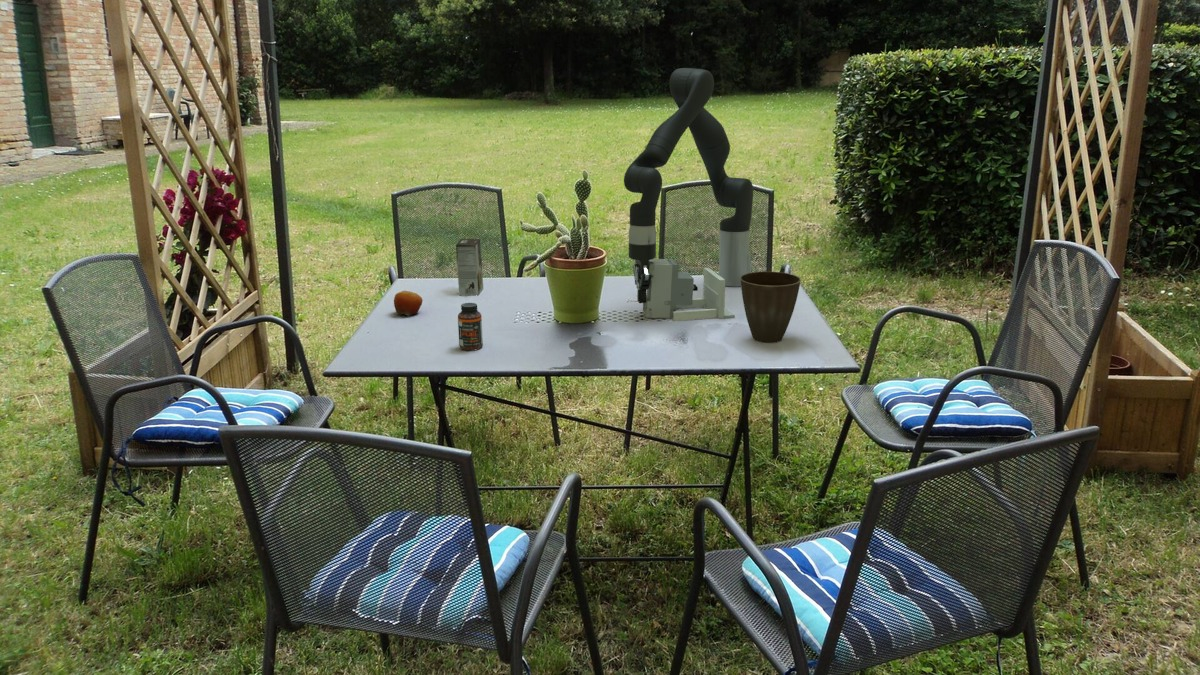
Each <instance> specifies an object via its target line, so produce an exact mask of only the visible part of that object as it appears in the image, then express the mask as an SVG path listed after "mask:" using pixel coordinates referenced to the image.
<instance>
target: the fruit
mask: <svg viewBox="0 0 1200 675" xmlns="http://www.w3.org/2000/svg"><path fill="white" fill-rule="evenodd" d="M422 304H423V298H422V296H421V295H419V294H418V293H417V292H413V291H409V290H402V291H400V292H397V293H395V295H394V298H393V307H394V308H395V312H396V315H397V316H401V315H406V316H407V317H409V318H410V315H415V314H418V313H419V310H420V308H421V306H422Z"/></svg>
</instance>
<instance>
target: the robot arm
mask: <svg viewBox="0 0 1200 675" xmlns="http://www.w3.org/2000/svg"><path fill="white" fill-rule="evenodd" d="M714 88H715V79H714V76H713V74H712V73H711V72H710V71H709V70H706V69H702V68H692V67H682V68H677V69H675V70H674V71H673V72H672V73H671V75H670V78H669V89H670V94H671V97H672V98H673V100H674V103H675V104H676V106H677V108H678V110H677V111H675V112H674V113H673V114H672V115H670V116H669V117H668V118H667V119H665V120H664V121H662V123H661V124H660V125H659V126H658V127H657V128H656V129H655V130H654V131H653V133H652V135H651V137H650V138H649V141H648V143H647V144H646V146H645V148H644V150H643V151H641V153H640V154H639V155H638V156H637V157H636V158H635V159H634V160H633V162H632V163H630V164H629V166H628V168H627V169H626V171H625V173H624V177H623V185H624V187H625V189H626V190H627V191H628V192H629V193H630V192H631V193H634V194H641V198H640V201H637V202H633V203H631V204H630V207H629V228H628V258H629V259H631V260H634V262H635V263H634V264H632V265H633V266H632V269H633V277H634V285H636V289H637V295H636V296H637V297H636V298H637V302H638V303H639V304H643V303H646V295H647V289H649V285H650V281H651V277H652V275H651V274H648V273H649V260H650V259H656V258H657V226H656V216H657V215H656V209H657V206H658V203H659V199H660V195H661V192H662V187H663V176H662V174H661V172H660V171H659V170H658V168H662V167H665V166H666V164H667V163H668V162H669V160H670V158H671V155H672V154H673V152H674V150H675V148H676V147H677V144H679V141H680V139H681V138H682V137H683V135H684V133H685V132H686V131H687V129H689V131H690V133H691V135H692V138H693V140H694V144H695V146H696V147H697V151H698V153H699V156H700V157H701V159H702V162H703V164H704V167H705V170H706V172H707V175H708V178H709V181H710V184H711V189H712V192H713V196H714V199H715V201H716V202H717V204H718V206H721V207H724V208H730V209H731V208H732V209H735V210H734V215H732V216H730V217H726V218H723V219H721V220H720V221H719V246H718V247H719V250H718V252H719V253H718V254H719V255H718V275H719V276H721V277H722V278H723V279H725V287H741V279H740V277H741V276H742V275H744V274H747V273H752V271H751V270H752V269H751V268H752V267H751V266H752V265H751V264H752V255H751V253H750V233H751V232H750V230H751V229H750V228H751V221H752V212H753V201H754V185H753V183H752V181H751V179H749V178H743V177H730V176H728V174H727V172H726V169H725V165H726V163H727V159H728V157H729V155H730V151H731V145H730V140H729V138H728V135H727V132H726V130H725V128H724V126H723V125H722V124H721V123H720V121H718V119H717V118H716V117H715V116H713V115H712V113H710V112H709V111H708V110H707V108H705V106H706V105H707V103H708V101H710V99H711V96H712V95H713V91H714Z"/></svg>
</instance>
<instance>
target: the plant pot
mask: <svg viewBox="0 0 1200 675" xmlns="http://www.w3.org/2000/svg"><path fill="white" fill-rule="evenodd" d="M740 279H741V286H740V288H741V295H742V296H741V297H742V302H743V308H744V312H745V316H746V320H747V324H748V329H749V330H750V333H751V337H752V339H753V340H754V341H756V342H759V343H766V344H774V343H778V342H781V341H782V340H783V338H784V336H785V334H786V332H787V329H788V327H789V324H790V321H791V319H792V316H793V313H794V310H795V306H796V303H797V299H798V296H799V290H800V286H801V277H799V276H798V275H795V274H792V273H787V272H781V271H768V270H767V271H754V272H752V271H751V273H747V274H744V275H742V276H741V277H740Z"/></svg>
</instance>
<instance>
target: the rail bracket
mask: <svg viewBox="0 0 1200 675" xmlns="http://www.w3.org/2000/svg"><path fill="white" fill-rule="evenodd" d="M702 285H703V288H702V291H703V292H702V294H703V295H702V296H703V297H700V298H699V297H698V298H693V299H692V305H676V311H673V318H672V320H673V322H679V321H680V322H681V321H693V320H694V321H695V319H696V320H706V319H709V320H710V319H719V320H722V319H723V320H724V319H735V314H734V313H733V312H732V311H730V310H729V309H728V308H727V307H726V306H725V304H726V302H725V298H726V286H725V279H723V278H722V277H721V276H719V273H717V272H715V270H713V269H711V268H710V267H703V284H702ZM697 307H698V308H705V309H698V308H697ZM682 308H684V309H687V310H682ZM696 308H697V309H696ZM688 309H689V310H688ZM677 310H678V311H677Z"/></svg>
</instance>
